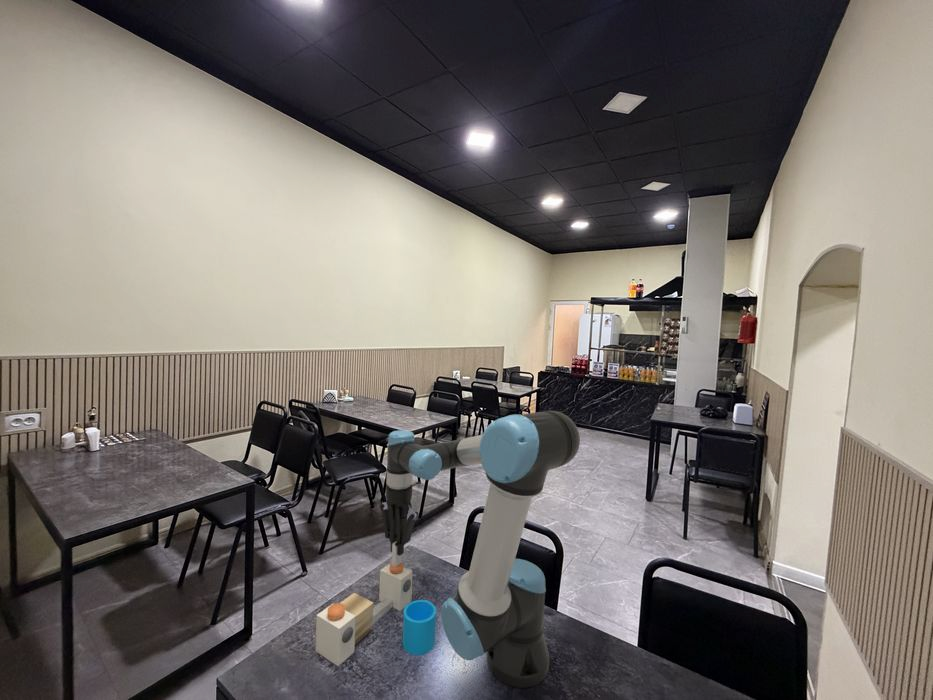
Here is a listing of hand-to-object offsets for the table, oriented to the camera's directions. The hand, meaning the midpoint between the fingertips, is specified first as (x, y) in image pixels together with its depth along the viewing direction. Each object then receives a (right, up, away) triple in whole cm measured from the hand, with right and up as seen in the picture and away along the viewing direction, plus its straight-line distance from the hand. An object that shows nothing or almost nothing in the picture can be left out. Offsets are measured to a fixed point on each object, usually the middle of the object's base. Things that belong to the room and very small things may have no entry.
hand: (396, 564), depth 112 cm
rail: (-6, -11, -9) cm, 15 cm away
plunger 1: (-11, -6, -19) cm, 23 cm away
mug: (+9, -12, -13) cm, 19 cm away
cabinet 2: (0, -11, 0) cm, 11 cm away
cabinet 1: (-12, -11, -19) cm, 25 cm away
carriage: (-9, -11, -13) cm, 19 cm away
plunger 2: (0, -5, 0) cm, 5 cm away
